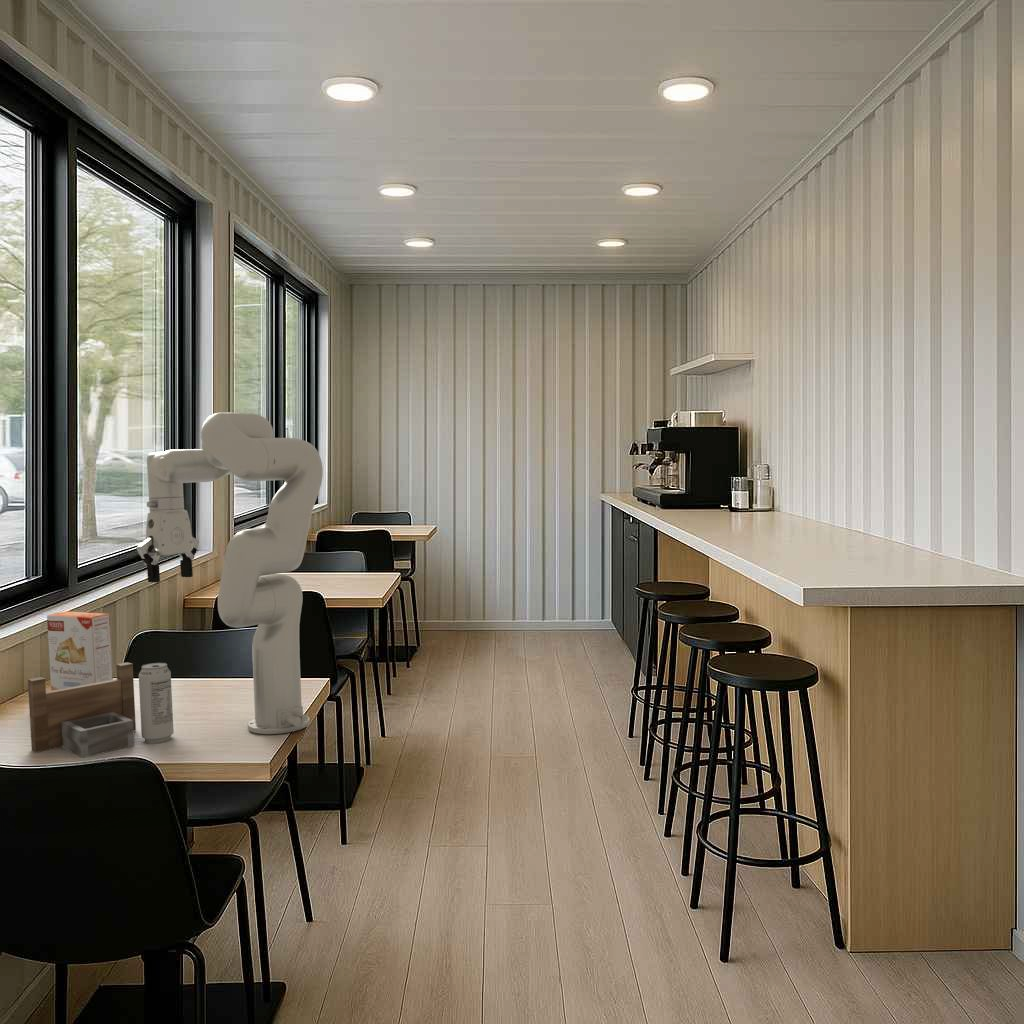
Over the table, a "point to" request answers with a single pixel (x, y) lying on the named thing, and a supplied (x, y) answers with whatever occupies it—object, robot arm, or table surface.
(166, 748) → the table surface
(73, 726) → the wooden holder with tray
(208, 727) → the table surface
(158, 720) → the energy drink can
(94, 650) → the cracker box
